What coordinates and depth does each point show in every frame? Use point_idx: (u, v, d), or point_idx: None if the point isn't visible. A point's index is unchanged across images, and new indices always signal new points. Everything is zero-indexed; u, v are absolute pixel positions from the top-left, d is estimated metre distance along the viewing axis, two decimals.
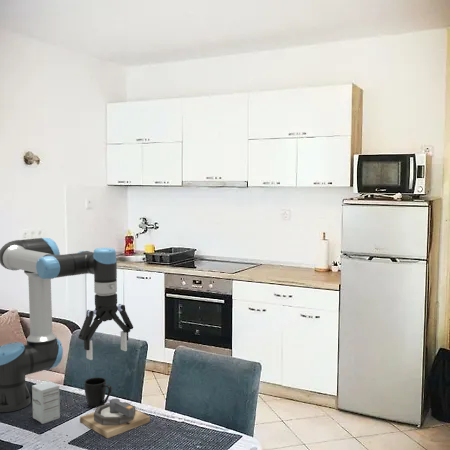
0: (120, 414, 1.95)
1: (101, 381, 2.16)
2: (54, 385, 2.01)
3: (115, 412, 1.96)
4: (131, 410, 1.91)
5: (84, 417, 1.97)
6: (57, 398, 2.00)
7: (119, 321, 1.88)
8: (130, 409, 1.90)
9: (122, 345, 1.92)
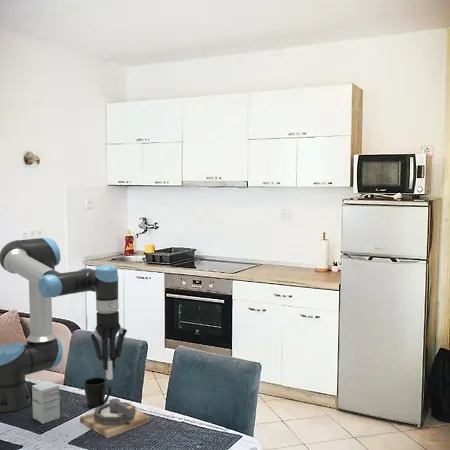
0: (120, 414, 1.95)
1: (101, 381, 2.16)
2: (54, 385, 2.01)
3: (115, 412, 1.96)
4: (131, 410, 1.91)
5: (84, 417, 1.97)
6: (57, 398, 2.00)
7: (112, 344, 1.87)
8: (130, 409, 1.90)
9: None
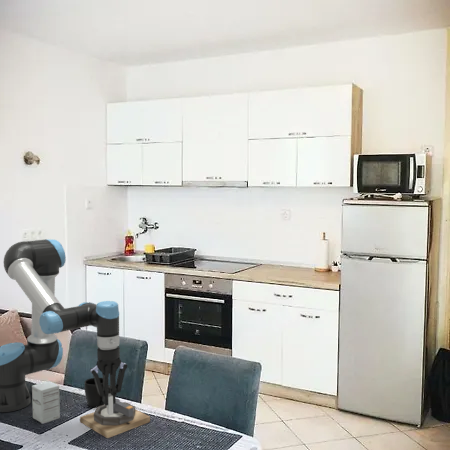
0: (120, 414, 1.95)
1: (101, 381, 2.16)
2: (54, 385, 2.01)
3: (115, 412, 1.96)
4: (131, 410, 1.91)
5: (84, 417, 1.97)
6: (57, 398, 2.00)
7: (113, 379, 1.88)
8: (130, 409, 1.90)
9: None
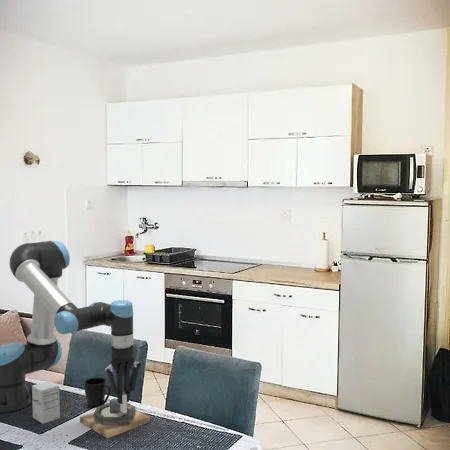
0: (120, 414, 1.95)
1: (101, 381, 2.16)
2: (54, 385, 2.01)
3: (115, 412, 1.96)
4: (131, 410, 1.91)
5: (84, 417, 1.97)
6: (57, 398, 2.00)
7: (127, 378, 1.89)
8: (130, 409, 1.90)
9: None
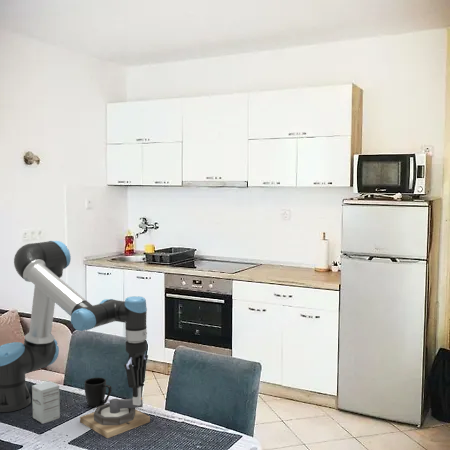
0: (125, 410, 1.98)
1: (101, 381, 2.16)
2: (54, 385, 2.01)
3: (119, 411, 1.97)
4: (142, 400, 1.99)
5: (84, 417, 1.97)
6: (57, 398, 2.00)
7: (141, 370, 1.96)
8: (142, 399, 1.99)
9: None
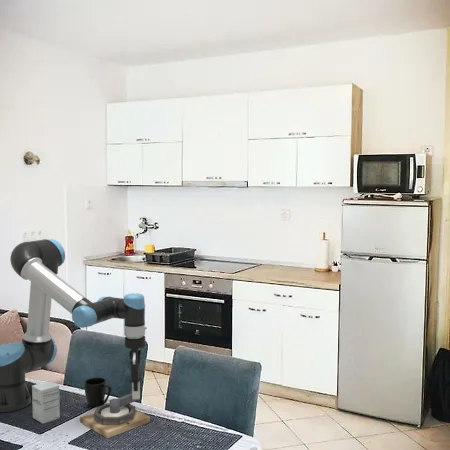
0: (123, 408, 2.00)
1: (101, 381, 2.16)
2: (54, 385, 2.01)
3: (119, 409, 1.98)
4: None
5: (84, 417, 1.97)
6: (57, 398, 2.00)
7: None
8: None
9: None
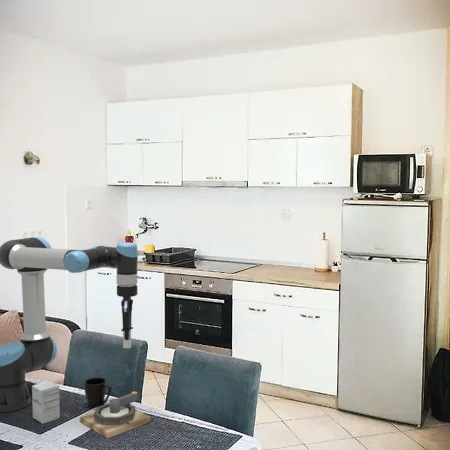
0: (123, 408, 2.00)
1: (101, 381, 2.16)
2: (54, 385, 2.01)
3: (119, 409, 1.98)
4: None
5: (84, 417, 1.97)
6: (57, 398, 2.00)
7: (130, 314, 2.02)
8: None
9: None
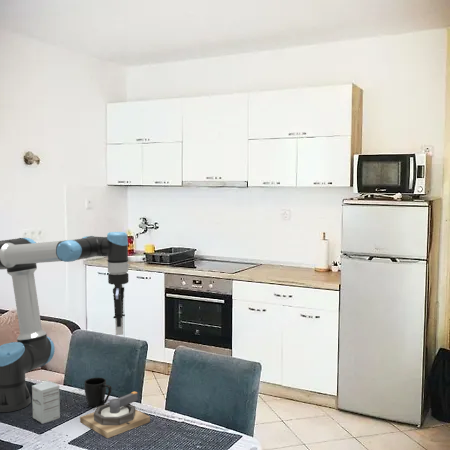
0: (123, 408, 2.00)
1: (101, 381, 2.16)
2: (54, 385, 2.01)
3: (119, 409, 1.98)
4: None
5: (84, 417, 1.97)
6: (57, 398, 2.00)
7: (122, 302, 2.07)
8: None
9: None
